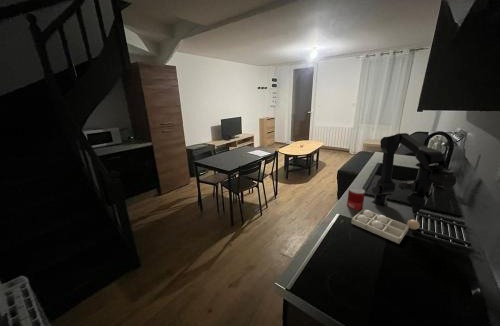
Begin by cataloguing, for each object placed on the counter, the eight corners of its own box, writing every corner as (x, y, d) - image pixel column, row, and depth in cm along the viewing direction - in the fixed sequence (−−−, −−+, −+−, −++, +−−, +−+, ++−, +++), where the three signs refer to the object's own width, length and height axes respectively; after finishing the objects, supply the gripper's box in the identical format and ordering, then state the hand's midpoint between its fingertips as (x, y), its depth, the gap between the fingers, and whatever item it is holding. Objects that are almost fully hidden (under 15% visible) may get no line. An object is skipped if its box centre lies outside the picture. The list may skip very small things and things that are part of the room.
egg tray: (362, 213, 111) (363, 208, 110) (408, 231, 96) (409, 225, 95) (350, 224, 102) (351, 218, 101) (398, 244, 88) (400, 239, 87)
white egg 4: (377, 219, 104) (379, 212, 103) (388, 223, 101) (389, 215, 99) (374, 223, 101) (375, 215, 100) (384, 227, 98) (386, 219, 96)
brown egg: (407, 224, 101) (409, 216, 99) (419, 228, 97) (421, 220, 96) (405, 228, 98) (407, 220, 96) (416, 232, 95) (419, 224, 93)
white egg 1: (358, 219, 105) (360, 211, 103) (368, 223, 101) (369, 215, 100) (354, 223, 102) (356, 215, 101) (364, 227, 99) (366, 219, 97)
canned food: (364, 211, 113) (367, 193, 109) (348, 210, 114) (351, 192, 111) (359, 204, 120) (362, 187, 117) (345, 203, 122) (347, 186, 118)
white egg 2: (364, 214, 109) (365, 207, 107) (373, 218, 106) (374, 210, 104) (360, 218, 106) (361, 210, 105) (370, 221, 103) (371, 213, 101)
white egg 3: (372, 225, 100) (374, 217, 99) (383, 229, 97) (385, 221, 95) (369, 229, 97) (370, 220, 96) (379, 233, 94) (381, 225, 92)
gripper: (408, 169, 101) (402, 197, 106) (396, 179, 90) (390, 210, 95) (438, 175, 93) (429, 205, 98) (429, 187, 82) (420, 220, 87)
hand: (416, 209), depth 95 cm, fingers open, 9 cm apart
